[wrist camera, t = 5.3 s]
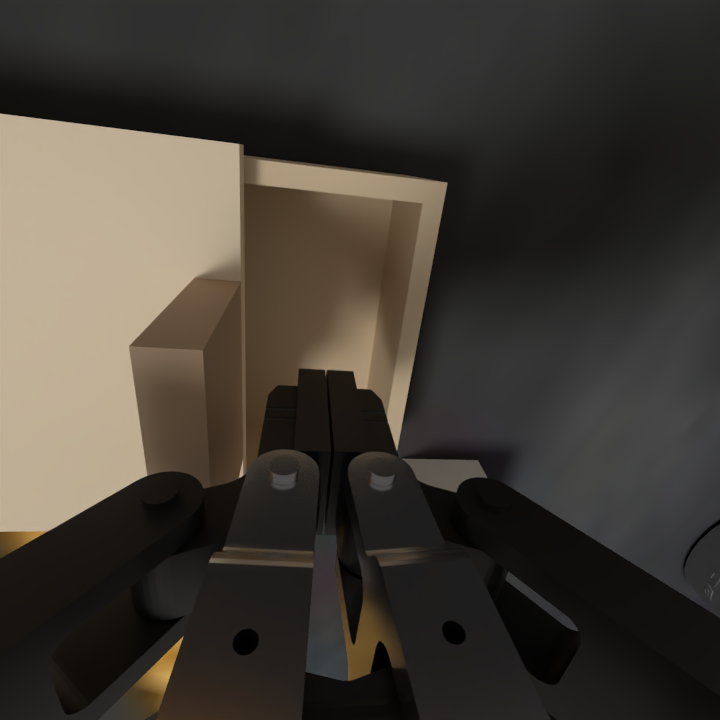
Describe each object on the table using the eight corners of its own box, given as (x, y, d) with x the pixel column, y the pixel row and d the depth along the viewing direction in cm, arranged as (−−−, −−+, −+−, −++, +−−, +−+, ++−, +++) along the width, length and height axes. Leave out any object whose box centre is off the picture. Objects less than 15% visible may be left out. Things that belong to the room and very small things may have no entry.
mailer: (408, 175, 16) (447, 182, 11) (370, 431, 21) (386, 505, 17) (-136, 108, 13) (-363, 83, 9) (-27, 420, 18) (-135, 504, 14)
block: (477, 459, 23) (518, 533, 18) (459, 518, 25) (492, 598, 20) (398, 457, 22) (420, 533, 18) (386, 518, 24) (403, 601, 20)
